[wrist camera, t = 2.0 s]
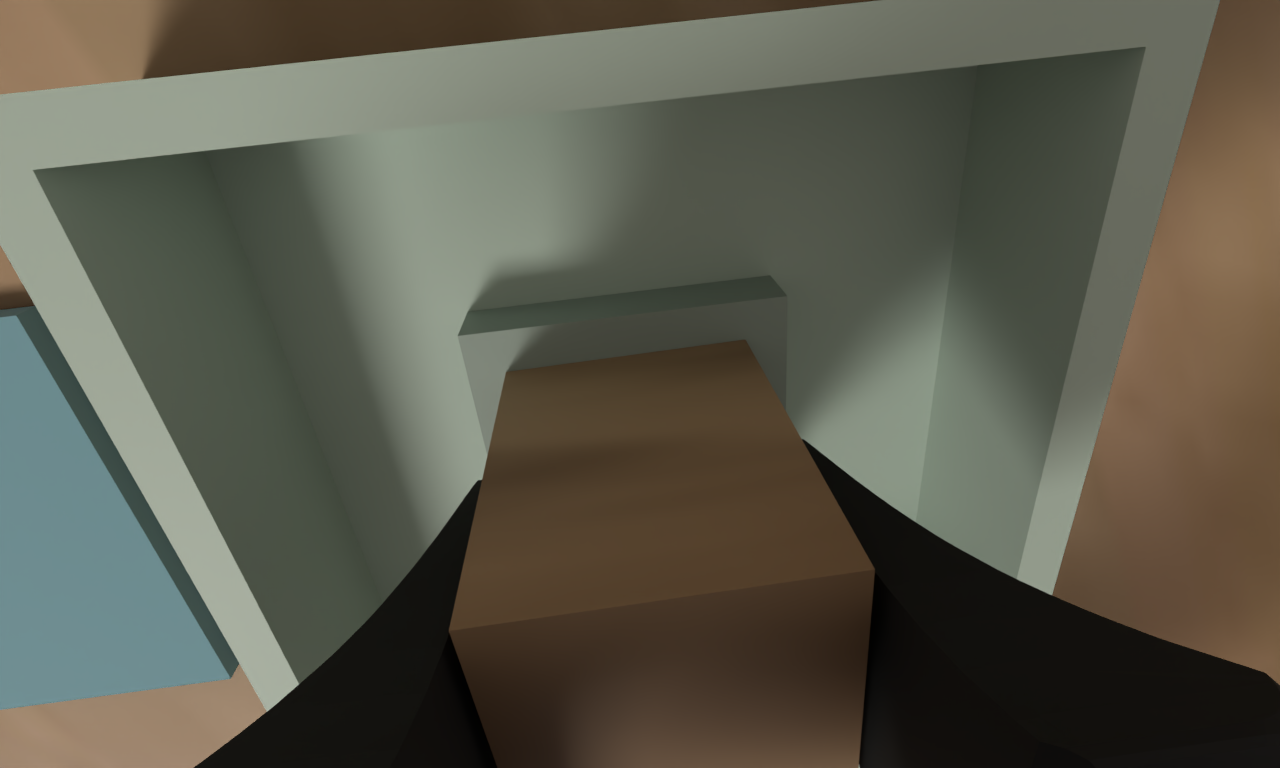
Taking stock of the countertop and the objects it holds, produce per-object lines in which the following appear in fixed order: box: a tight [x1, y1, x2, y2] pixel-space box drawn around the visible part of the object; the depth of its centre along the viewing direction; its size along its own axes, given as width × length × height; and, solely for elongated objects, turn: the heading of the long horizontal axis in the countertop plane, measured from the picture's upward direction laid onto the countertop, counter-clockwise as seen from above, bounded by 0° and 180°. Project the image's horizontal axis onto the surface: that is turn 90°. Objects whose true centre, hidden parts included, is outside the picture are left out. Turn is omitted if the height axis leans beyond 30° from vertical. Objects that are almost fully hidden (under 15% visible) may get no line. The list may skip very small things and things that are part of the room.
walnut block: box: [449, 340, 875, 768], centre depth 10 cm, size 4×4×6 cm
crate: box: [0, 0, 1220, 768], centre depth 13 cm, size 15×15×4 cm
